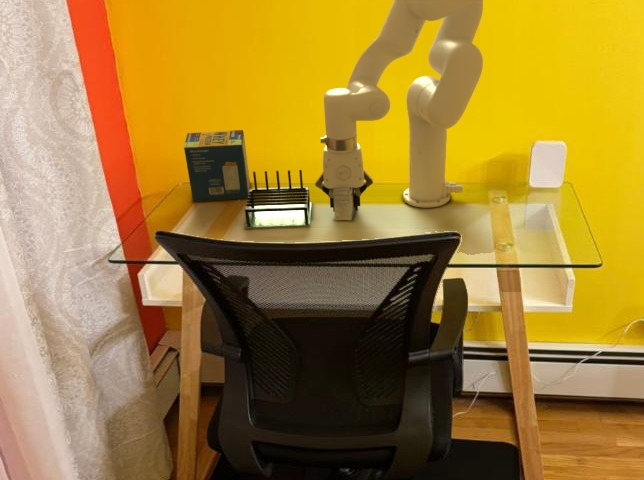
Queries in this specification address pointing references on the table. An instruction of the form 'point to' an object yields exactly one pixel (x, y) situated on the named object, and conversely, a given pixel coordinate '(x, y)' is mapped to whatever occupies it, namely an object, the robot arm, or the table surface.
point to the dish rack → (278, 206)
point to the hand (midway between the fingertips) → (345, 208)
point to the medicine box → (344, 203)
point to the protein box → (217, 165)
